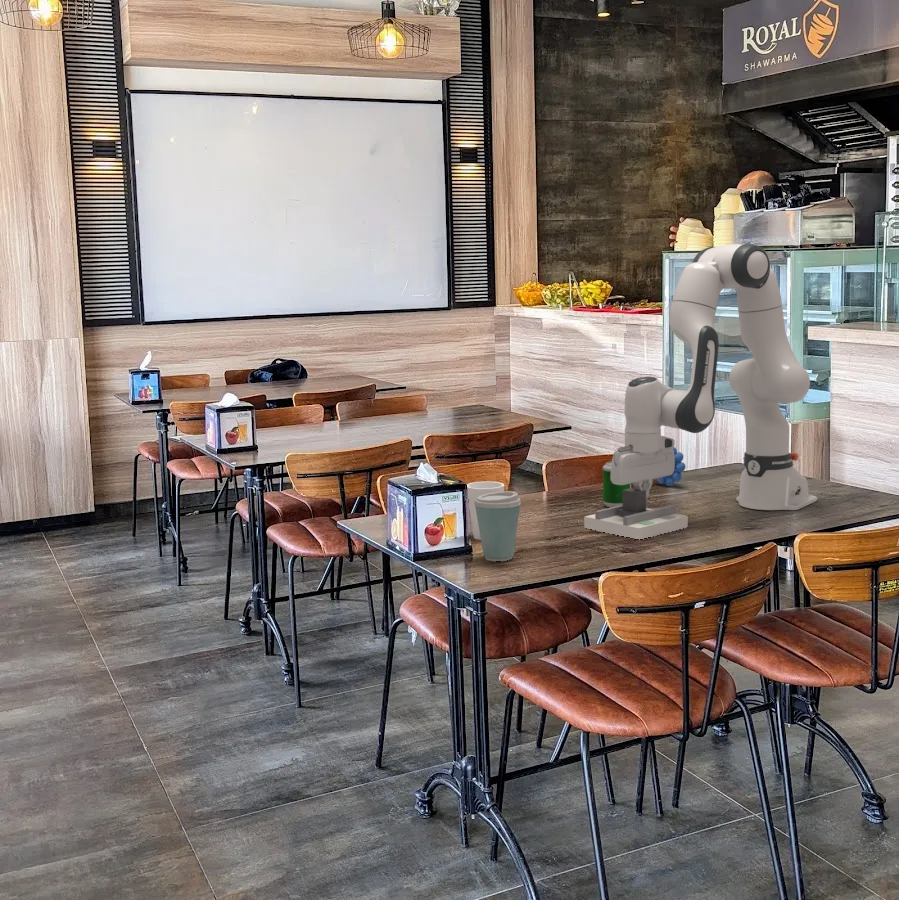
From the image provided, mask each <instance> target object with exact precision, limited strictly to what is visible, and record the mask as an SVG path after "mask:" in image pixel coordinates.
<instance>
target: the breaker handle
mask: <svg viewBox="0 0 899 900" xmlns="http://www.w3.org/2000/svg"><path fill="white" fill-rule="evenodd" d="M646 500H647V497H646V491H643V490H637V489H635V488H632V487H631V488H630V489H625V490H622V506H623V508H622V509H618V510H617V515H622V516H629V515H633V514H637V513H641V512H645V511H649V510H646Z"/></svg>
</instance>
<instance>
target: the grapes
mask: <svg viewBox="0 0 899 900" xmlns="http://www.w3.org/2000/svg"><path fill="white" fill-rule="evenodd" d="M672 449H673V450H674V457H675V466H674V471H673V473H672V475H668V476H664V477H659V478H657V482H658V484H660V485H666V486H667V487H669V486H671V487H673V486H674V484H675V482H676V483H678V482H680V481H681V480H682V479H683V474H682V473H683V472H685V470H686V468H687V467H686V464H685V462H683V460H684V454H683V453H682V452H681V451H678V450H677V449H678V448H676V447H675V446H674V447H672Z"/></svg>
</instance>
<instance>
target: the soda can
mask: <svg viewBox="0 0 899 900" xmlns="http://www.w3.org/2000/svg"><path fill="white" fill-rule="evenodd" d="M611 464H612V460H611V461H608V462H605V464H604V465H603V466H602V503H603V504H604V505H605V507H606V508H607V507H610V508H611V507H615V506H619V505H622V490H625V489H630V488H632V483H631V484H626V485H616V484H613V483H612V482H611V479H610V475H611Z"/></svg>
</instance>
